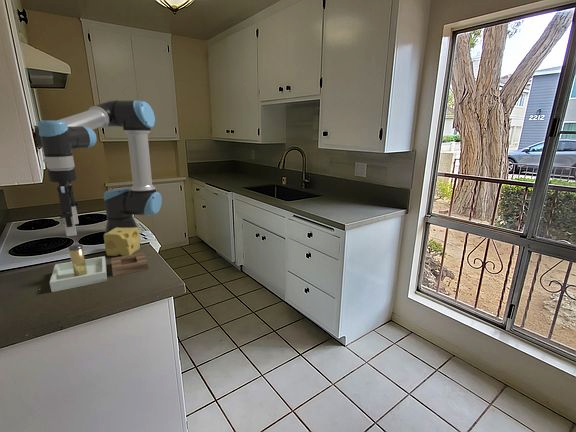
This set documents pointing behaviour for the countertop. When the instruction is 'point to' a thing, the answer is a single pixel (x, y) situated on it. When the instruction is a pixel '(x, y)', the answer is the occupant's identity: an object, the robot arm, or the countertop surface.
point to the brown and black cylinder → (78, 260)
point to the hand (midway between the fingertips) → (73, 229)
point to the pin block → (129, 264)
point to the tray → (67, 280)
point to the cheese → (122, 241)
